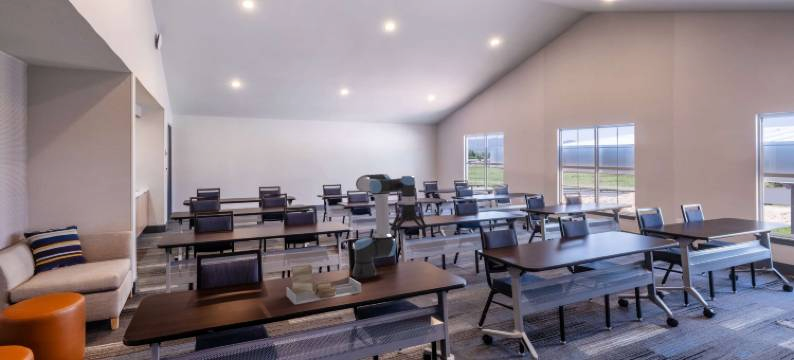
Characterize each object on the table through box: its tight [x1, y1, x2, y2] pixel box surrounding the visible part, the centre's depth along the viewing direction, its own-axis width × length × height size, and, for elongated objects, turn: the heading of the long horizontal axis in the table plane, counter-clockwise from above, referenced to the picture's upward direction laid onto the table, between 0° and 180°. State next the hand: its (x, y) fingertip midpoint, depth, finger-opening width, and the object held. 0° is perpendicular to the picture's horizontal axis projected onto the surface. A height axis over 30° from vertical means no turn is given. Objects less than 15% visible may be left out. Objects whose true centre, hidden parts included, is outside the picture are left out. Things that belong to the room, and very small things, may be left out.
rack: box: [286, 276, 362, 305], centre depth 235 cm, size 16×37×6 cm, turn 118°
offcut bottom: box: [313, 288, 335, 298], centre depth 235 cm, size 12×8×2 cm, turn 28°
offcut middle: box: [314, 285, 336, 295], centre depth 235 cm, size 11×7×2 cm
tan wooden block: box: [291, 264, 314, 296], centre depth 229 cm, size 4×10×17 cm, turn 118°
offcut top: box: [315, 280, 332, 290], centre depth 235 cm, size 9×6×2 cm
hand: (409, 242), depth 239 cm, fingers open, 13 cm apart
